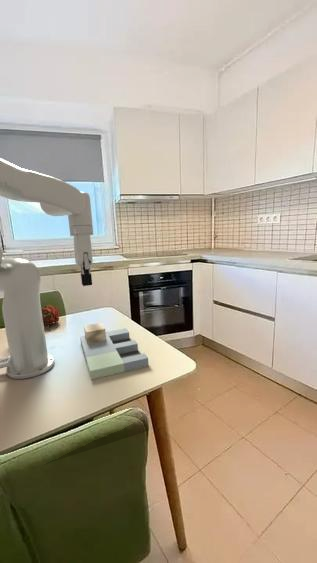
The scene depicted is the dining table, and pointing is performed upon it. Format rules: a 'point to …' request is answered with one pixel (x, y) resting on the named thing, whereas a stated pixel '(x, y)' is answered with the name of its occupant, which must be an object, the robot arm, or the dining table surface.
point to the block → (95, 333)
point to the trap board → (113, 354)
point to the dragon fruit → (50, 314)
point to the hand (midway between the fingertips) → (87, 284)
